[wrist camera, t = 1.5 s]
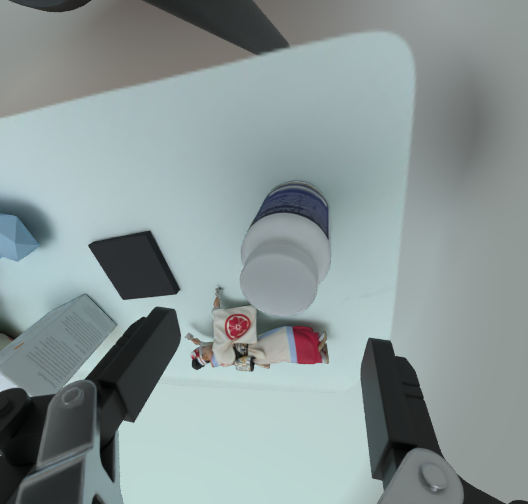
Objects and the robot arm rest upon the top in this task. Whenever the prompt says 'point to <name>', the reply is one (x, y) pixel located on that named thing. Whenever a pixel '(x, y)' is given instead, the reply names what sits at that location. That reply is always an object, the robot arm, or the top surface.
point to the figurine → (255, 342)
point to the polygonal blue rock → (15, 238)
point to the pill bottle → (287, 250)
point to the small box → (54, 348)
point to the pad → (135, 266)
